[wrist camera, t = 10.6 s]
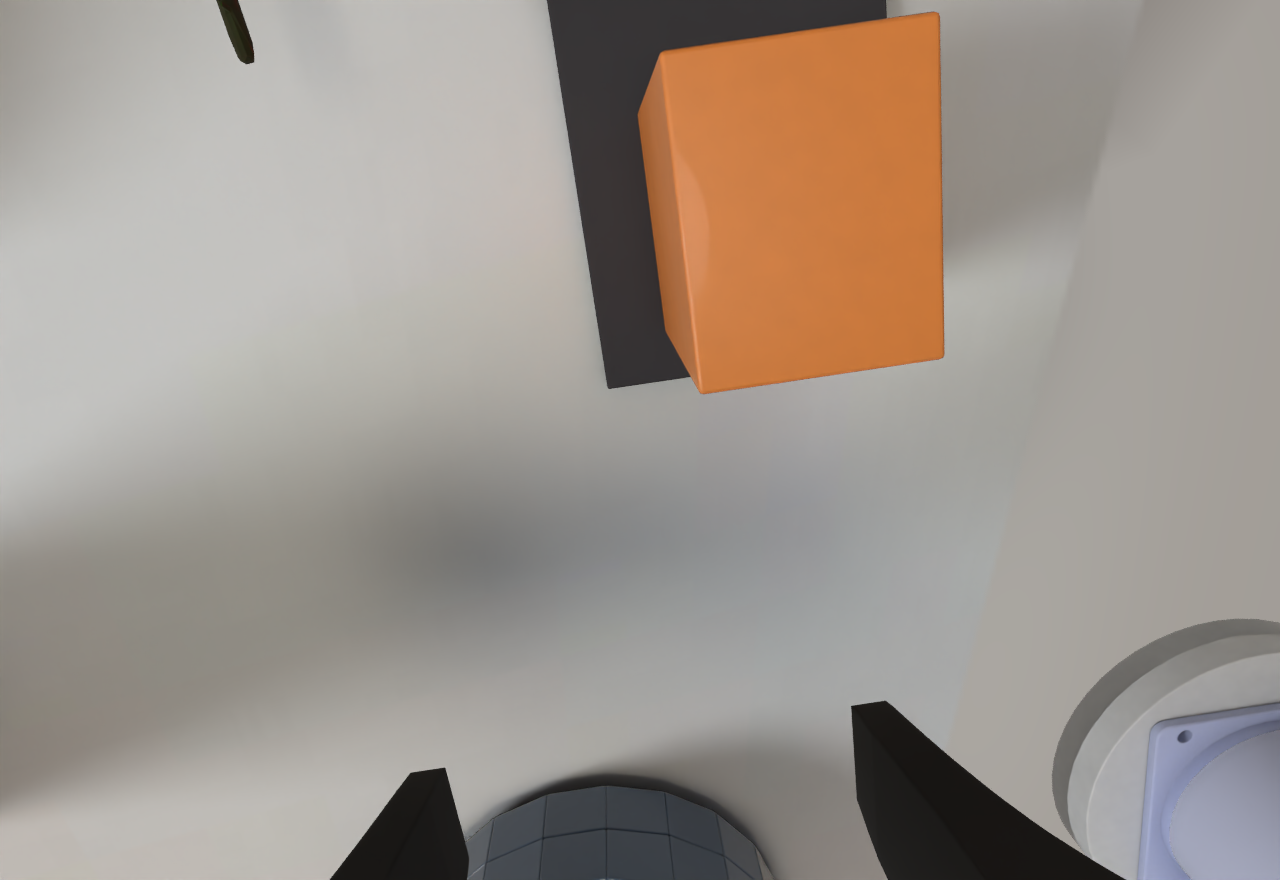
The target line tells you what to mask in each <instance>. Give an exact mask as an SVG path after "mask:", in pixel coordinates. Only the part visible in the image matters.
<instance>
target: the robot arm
mask: <svg viewBox="0 0 1280 880" xmlns="http://www.w3.org/2000/svg"><path fill="white" fill-rule="evenodd" d="M851 709H852V726H853V742H854V758H855V775H856V791H857V801H858V804H859V806H860V809H861V812H862V815H863V818H864V821H865V824H866V827H867V829H868V832H869V835H870V838H871V841H872V843H873V846H874V849H875V851H876V854H877V857H878V859H879V861H880V864H881V866H882V868H883V870H884V872H885V874H886V876H887V878H888V880H1126V879H1124V878H1122V877H1120V876H1118V875H1117V874H1115V873H1113V872H1112V871H1110V870H1108V869H1106V868H1105V867H1103V866H1101V865H1100V864H1098V863H1096V862H1095V861H1093V860H1091V859H1090V858H1088V857H1087V856H1085V855H1083V854H1082V853H1080V852H1079V851H1077V850H1075V849H1074V848H1072V847H1071V846H1069V845H1068V844H1066V843H1065V842H1063V841H1061V840H1060V839H1058V838H1057V837H1055V836H1053V835H1052V834H1051V833H1049V832H1047V831H1046V830H1044V829H1043V828H1042V827H1040V826H1039V825H1037V824H1036V823H1035V822H1033V821H1032V820H1030V819H1029V818H1028V817H1026V816H1025V815H1024V814H1022V813H1021V812H1019V811H1018V810H1017V809H1015V808H1014V807H1013V806H1011V805H1010V804H1009V803H1007V802H1006V801H1004V800H1003V799H1002V798H1001V797H999V796H998V795H997V794H995V793H994V792H993V791H991V790H990V789H989V788H988V787H986V786H985V785H984V784H983V783H981V782H980V781H979V780H978V779H976V778H975V777H974V776H973V775H972V774H970V773H969V772H968V771H967V770H965V769H964V768H963V767H962V766H960V765H959V764H958V763H957V762H956V761H954V760H953V759H952V758H951V757H950V756H948V755H947V754H946V753H945V752H944V751H943V750H941V749H940V748H939V747H938V746H937V745H936V744H934V743H933V742H932V741H931V740H930V739H929V738H928V737H926V736H925V735H924V734H923V733H922V732H921V731H920V730H919V729H917V728H916V727H915V726H914V725H913V724H912V723H911V722H910V721H909V720H907V719H906V718H905V717H904V716H903V715H902V714H901V713H900V712H899V711H897V710H896V709H895V708H894V707H893V706H892V705H890V704H889V703H888V702H887V701H881V702H874V703H867V704H861V705H854V706H851ZM468 868H469V855H468V851H467V847H466V844H465V840H464V836H463V832H462V829H461V825H460V821H459V818H458V814H457V810H456V806H455V803H454V799H453V795H452V792H451V788H450V784H449V780H448V777H447V773H446V769H445V768H439V769H433V770H426V771H420V772H413V773H410V774H409V776H408V777H407V778H406V780H405V781H404V782H403V783H402V785H401V786H400V787H399V789H398V790H397V791H396V793H395V794H394V795H393V797H392V798H391V799H390V801H389V802H388V803H387V805H386V806H385V808H384V809H383V810H382V812H381V813H380V814H379V816H378V817H377V818H376V820H375V821H374V822H373V824H372V825H371V826H370V828H369V829H368V831H367V832H366V833H365V835H364V836H363V837H362V839H361V840H360V841H359V843H358V844H357V845H356V846H355V848H354V849H353V850H352V852H351V853H350V854H349V855H348V857H347V858H346V859H345V861H344V862H343V863H342V865H341V866H340V867H339V868H338V870H337V871H336V872H335V874H334V875H333V876H332V877H331V879H330V880H467V878H468ZM1137 880H1280V703H1275V704H1268V705H1262V706H1255V707H1249V708H1242V709H1236V710H1229V711H1222V712H1216V713H1209V714H1203V715H1196V716H1190V717H1183V718H1177V719H1170V720H1164V721H1161V722H1158V723H1157V724H1155V725H1154V726H1153V727H1152V729H1151V732H1150V737H1149V749H1148V760H1147V772H1146V784H1145V795H1144V807H1143V818H1142V830H1141V841H1140V853H1139V864H1138V876H1137Z"/></svg>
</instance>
